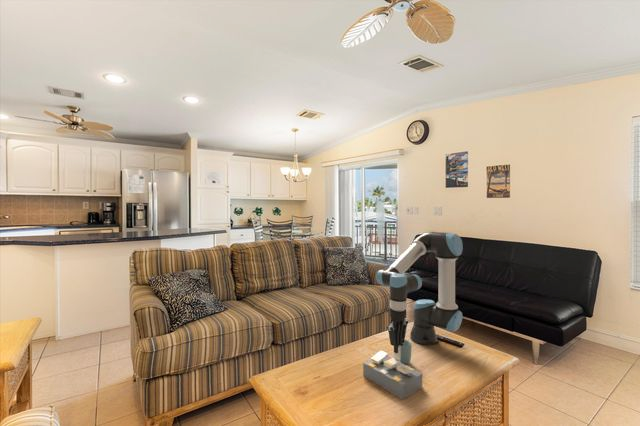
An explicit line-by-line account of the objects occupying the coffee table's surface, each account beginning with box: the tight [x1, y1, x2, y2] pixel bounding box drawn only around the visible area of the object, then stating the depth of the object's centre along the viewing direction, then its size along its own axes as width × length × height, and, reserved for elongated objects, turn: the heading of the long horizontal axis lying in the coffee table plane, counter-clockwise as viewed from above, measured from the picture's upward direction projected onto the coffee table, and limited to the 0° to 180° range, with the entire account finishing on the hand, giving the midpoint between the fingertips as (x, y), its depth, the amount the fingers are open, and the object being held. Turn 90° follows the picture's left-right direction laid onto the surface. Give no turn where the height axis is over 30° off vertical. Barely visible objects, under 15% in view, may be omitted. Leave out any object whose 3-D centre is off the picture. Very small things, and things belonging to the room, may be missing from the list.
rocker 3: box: [397, 365, 415, 374], centre depth 133 cm, size 7×4×2 cm, turn 129°
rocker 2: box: [384, 357, 401, 369], centre depth 138 cm, size 7×4×2 cm, turn 129°
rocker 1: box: [370, 350, 389, 364], centre depth 143 cm, size 7×4×2 cm, turn 128°
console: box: [362, 356, 423, 400], centre depth 138 cm, size 14×22×7 cm, turn 39°
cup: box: [399, 339, 413, 365], centre depth 155 cm, size 8×8×10 cm
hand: (397, 359), depth 140 cm, fingers closed
